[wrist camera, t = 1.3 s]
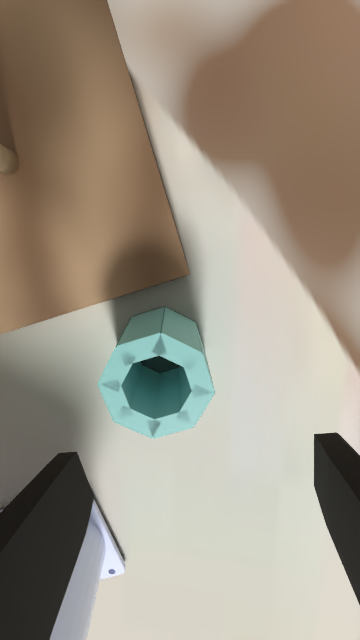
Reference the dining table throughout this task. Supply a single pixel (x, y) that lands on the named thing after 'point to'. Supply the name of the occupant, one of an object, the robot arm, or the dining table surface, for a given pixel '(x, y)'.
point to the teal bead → (157, 375)
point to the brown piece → (74, 167)
